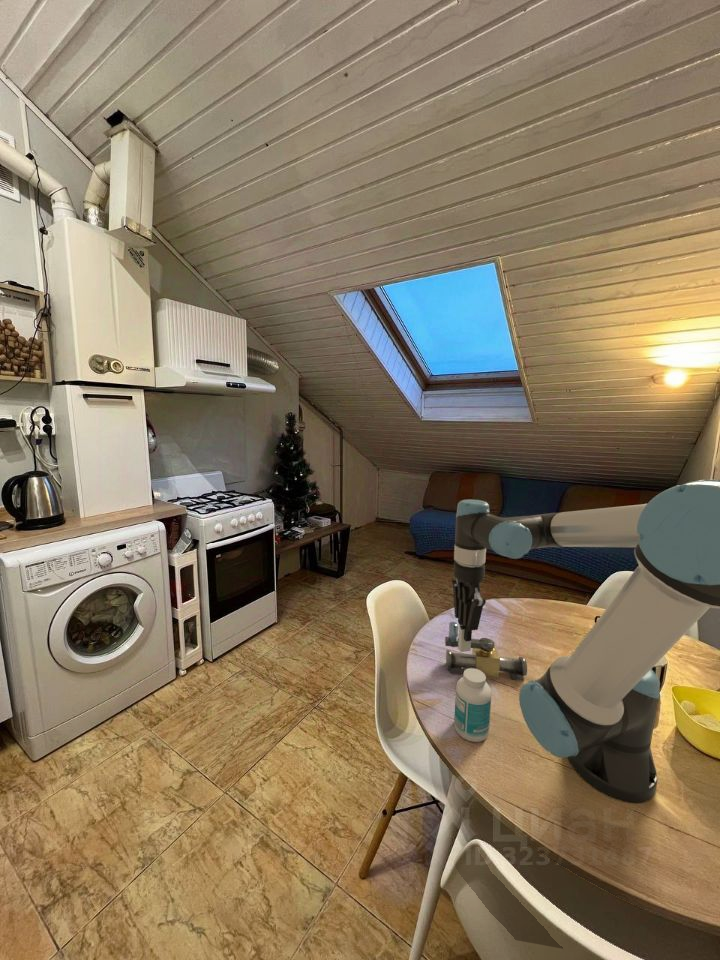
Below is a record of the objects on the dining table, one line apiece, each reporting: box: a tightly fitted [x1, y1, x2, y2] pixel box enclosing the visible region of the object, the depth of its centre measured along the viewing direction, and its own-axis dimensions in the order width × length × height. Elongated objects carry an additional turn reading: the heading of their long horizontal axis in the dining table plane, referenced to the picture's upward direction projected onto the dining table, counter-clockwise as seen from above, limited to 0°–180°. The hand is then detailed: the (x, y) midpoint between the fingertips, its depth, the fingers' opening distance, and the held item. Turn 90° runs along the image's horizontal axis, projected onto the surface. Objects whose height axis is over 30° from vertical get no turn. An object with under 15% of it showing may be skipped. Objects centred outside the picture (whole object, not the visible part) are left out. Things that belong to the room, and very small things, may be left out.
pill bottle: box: [453, 668, 492, 743], centre depth 82 cm, size 8×7×14 cm
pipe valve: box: [445, 645, 528, 682], centre depth 102 cm, size 6×21×7 cm, turn 83°
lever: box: [444, 621, 496, 652], centre depth 101 cm, size 13×4×6 cm, turn 83°
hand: (464, 649), depth 96 cm, fingers closed
